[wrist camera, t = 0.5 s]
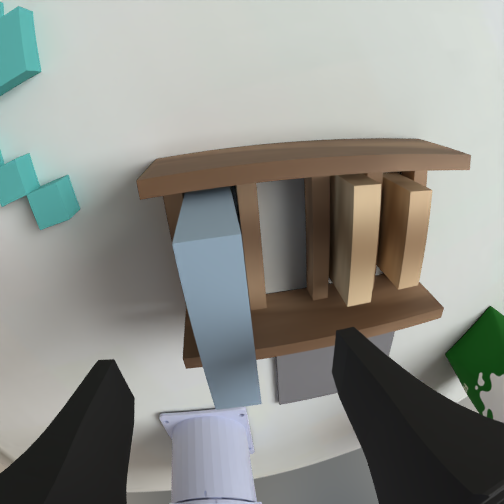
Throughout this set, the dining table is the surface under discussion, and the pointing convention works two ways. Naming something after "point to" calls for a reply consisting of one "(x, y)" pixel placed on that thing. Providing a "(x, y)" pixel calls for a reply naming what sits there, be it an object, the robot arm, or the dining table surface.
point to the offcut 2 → (403, 229)
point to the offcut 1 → (353, 235)
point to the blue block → (217, 295)
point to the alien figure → (21, 169)
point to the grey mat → (314, 371)
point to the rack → (317, 233)
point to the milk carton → (482, 364)
